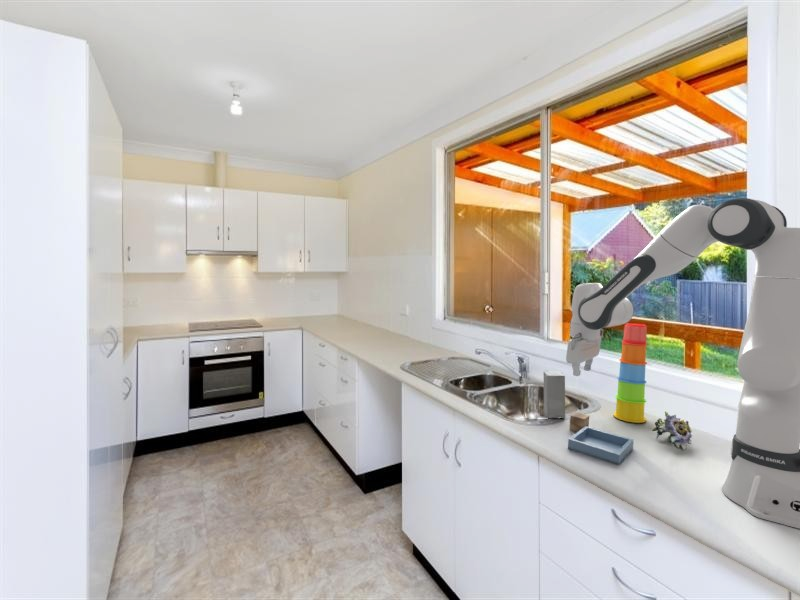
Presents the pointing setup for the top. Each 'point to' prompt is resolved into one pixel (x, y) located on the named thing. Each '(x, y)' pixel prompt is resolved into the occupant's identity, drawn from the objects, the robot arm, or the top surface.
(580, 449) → the sorting tray
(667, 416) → the passion flower
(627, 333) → the stacking cups
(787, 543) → the top surface
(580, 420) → the walnut block
